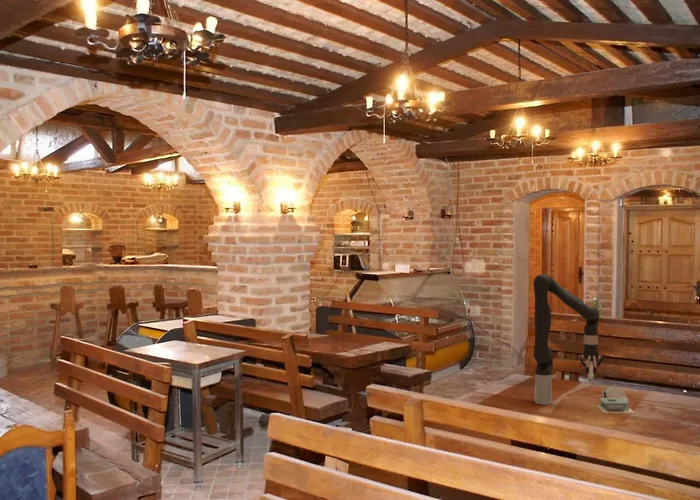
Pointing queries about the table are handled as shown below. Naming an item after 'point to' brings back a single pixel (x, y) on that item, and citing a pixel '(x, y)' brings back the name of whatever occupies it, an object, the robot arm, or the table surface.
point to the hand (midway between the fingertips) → (590, 373)
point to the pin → (591, 371)
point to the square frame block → (614, 406)
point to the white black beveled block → (614, 393)
